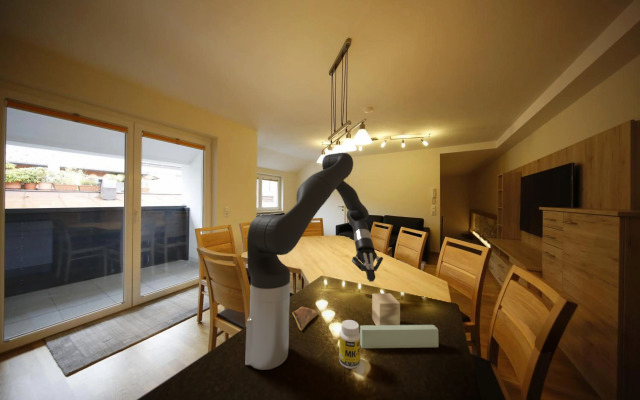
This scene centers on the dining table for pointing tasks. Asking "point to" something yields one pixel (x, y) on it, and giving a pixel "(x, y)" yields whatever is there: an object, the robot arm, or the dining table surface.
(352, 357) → the supplement bottle
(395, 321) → the birch block
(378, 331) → the sage fence board
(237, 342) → the dining table surface
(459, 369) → the dining table surface
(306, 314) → the shard
